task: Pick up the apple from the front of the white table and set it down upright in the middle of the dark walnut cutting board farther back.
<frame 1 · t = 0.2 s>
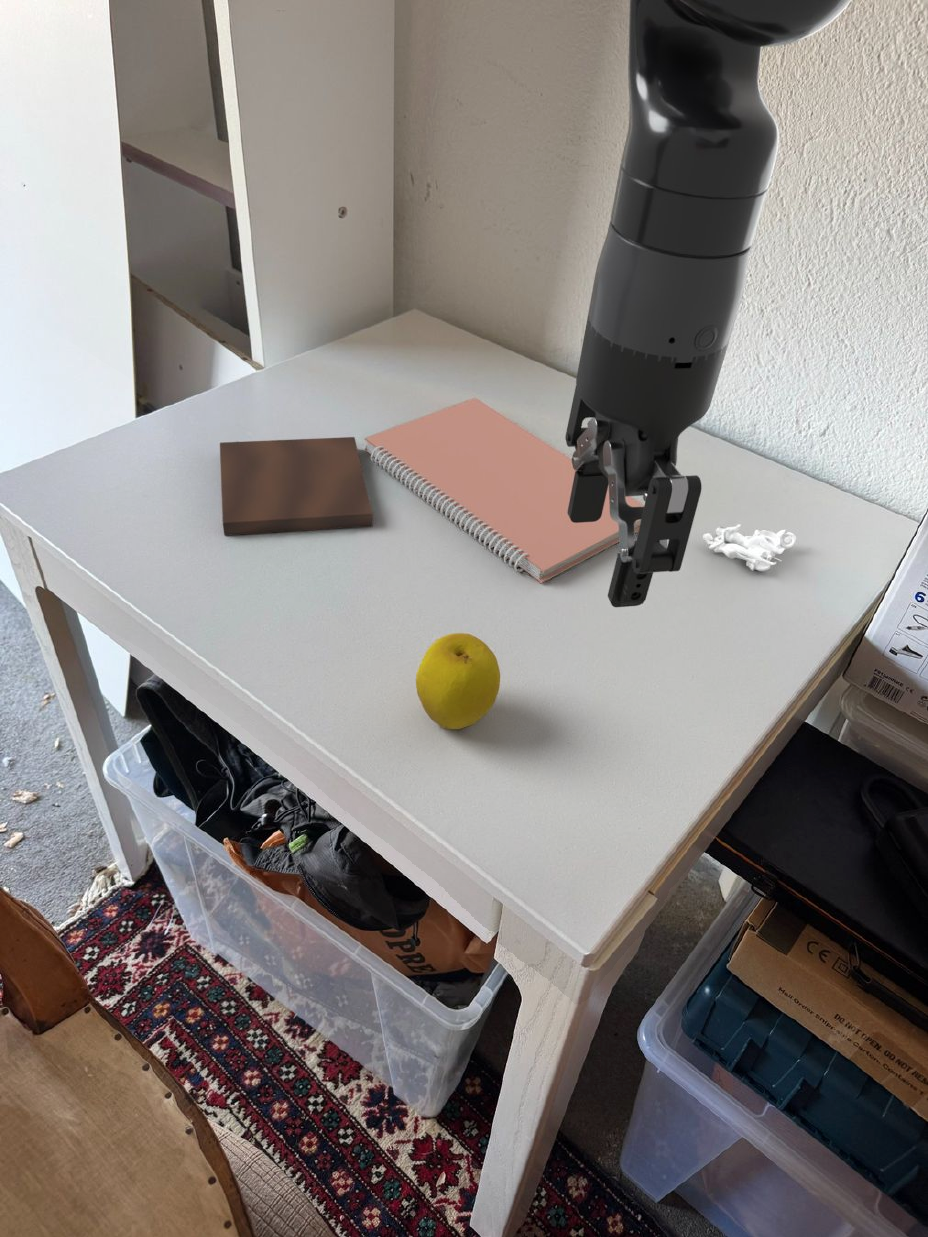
hand: (603, 559, 59), 18 cm above the table, tool pointing down, fingers open, 8 cm apart
figurine: (744, 554, 92), on the table
cutting board: (293, 489, 93), on the table
apple: (454, 717, 73), on the table
notebook: (499, 490, 96), on the table
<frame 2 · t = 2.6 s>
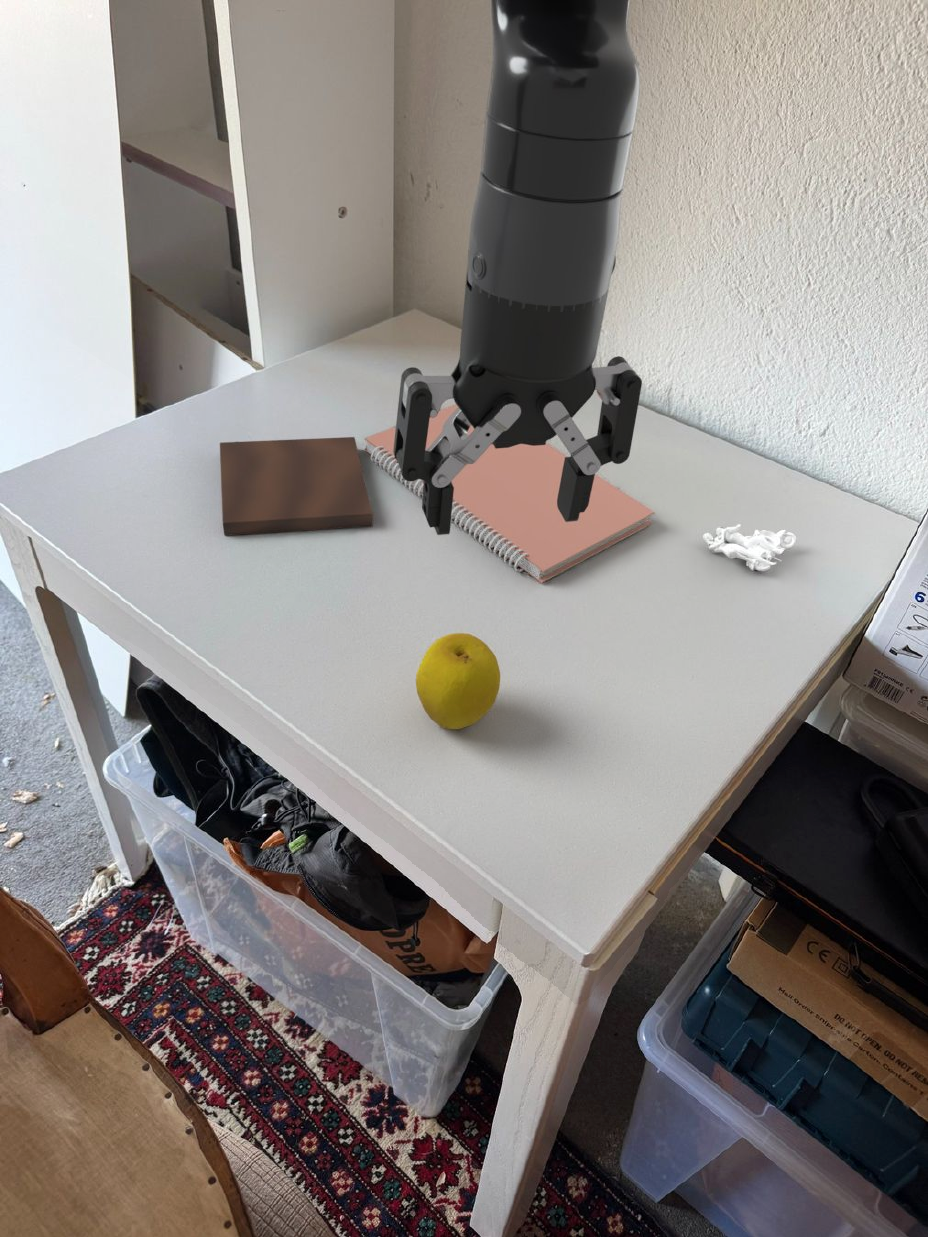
hand: (503, 520, 59), 20 cm above the table, tool pointing down, fingers open, 8 cm apart
nothing on the table moved.
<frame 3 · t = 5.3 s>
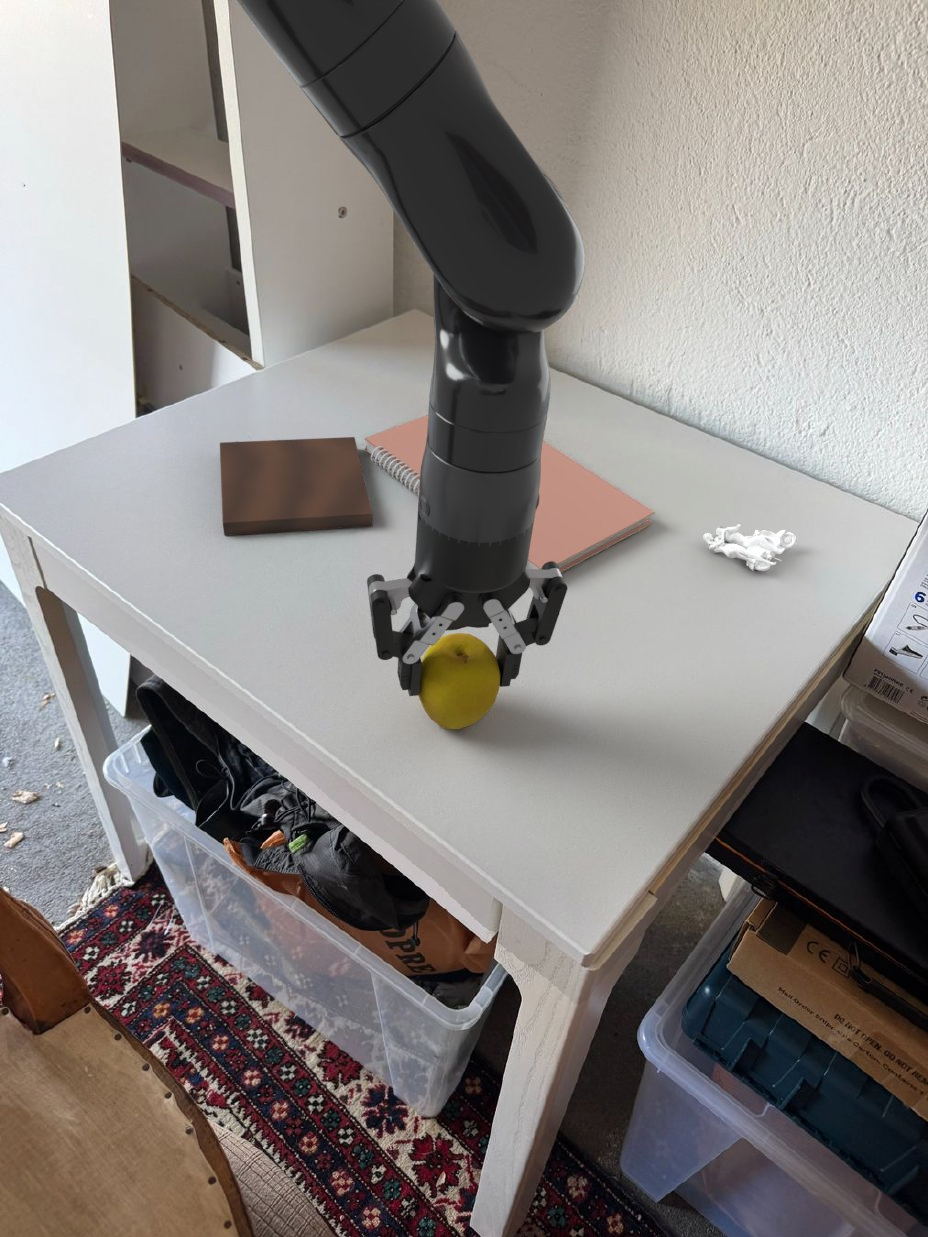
hand: (456, 682, 70), 4 cm above the table, tool pointing down, fingers closed on apple, 6 cm apart
apple: (454, 717, 73), on the table, touching gripper
everything else where it was.
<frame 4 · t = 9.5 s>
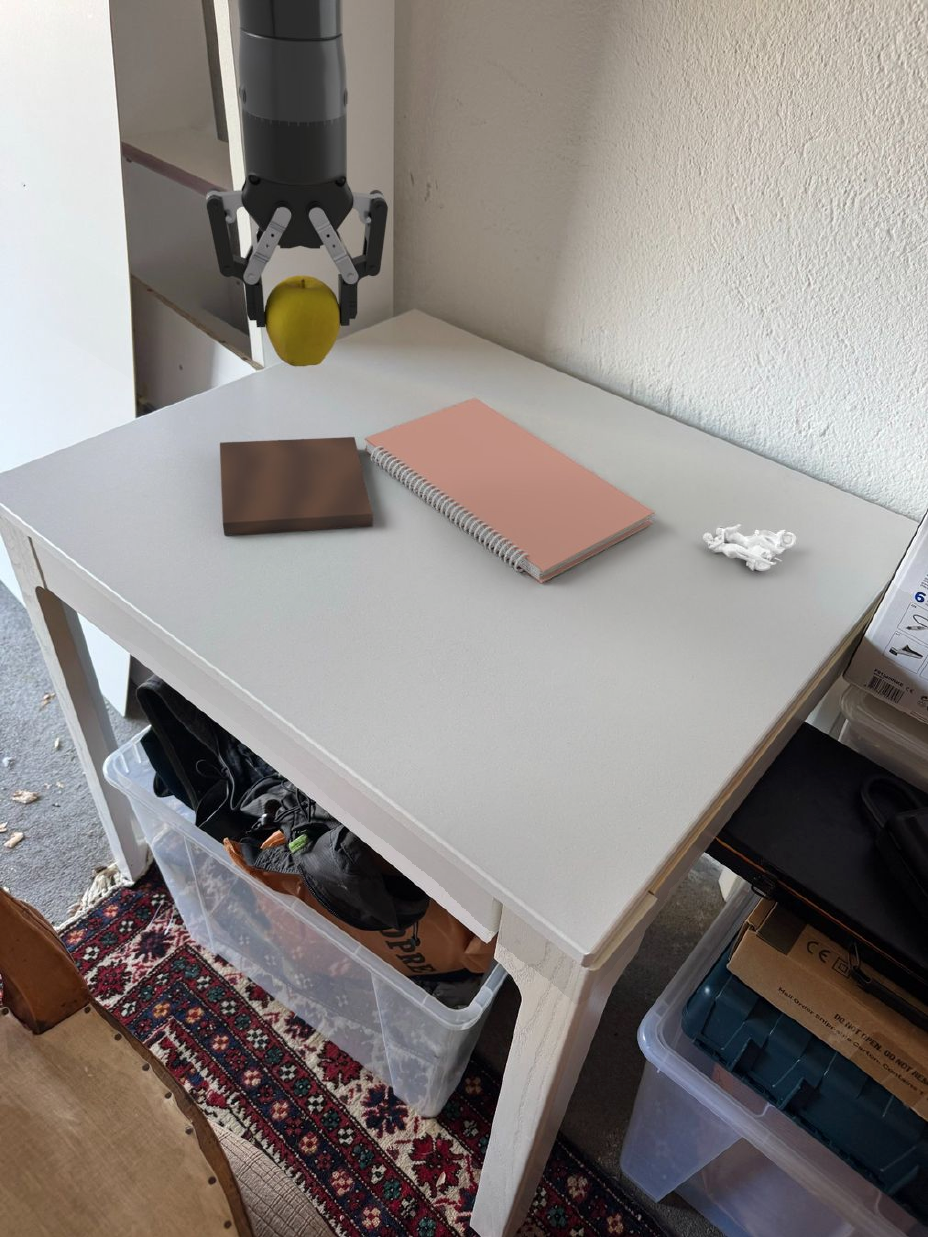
hand: (302, 322, 78), 19 cm above the table, tool pointing down, fingers closed on apple, 6 cm apart
apple: (305, 364, 80), point 16 cm above the table, touching gripper
everything else where it was.
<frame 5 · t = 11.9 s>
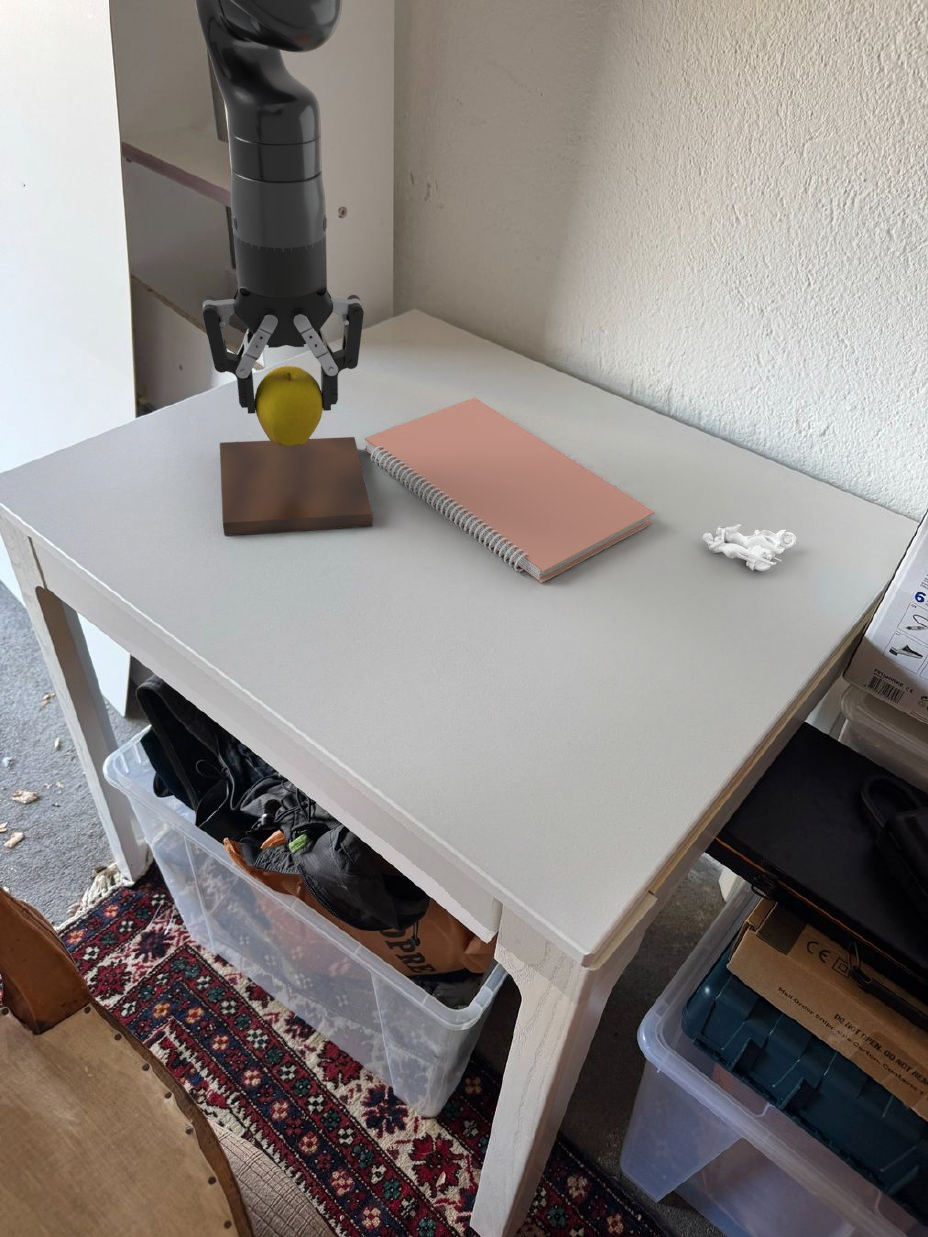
hand: (288, 407, 87), 9 cm above the table, tool pointing down, fingers closed on apple, 6 cm apart
apple: (291, 443, 90), point 5 cm above the table, touching gripper
everything else where it was.
when the fingers open (5 cm above the table, at t = 13.6 s): apple stays where it is, resting on cutting board.
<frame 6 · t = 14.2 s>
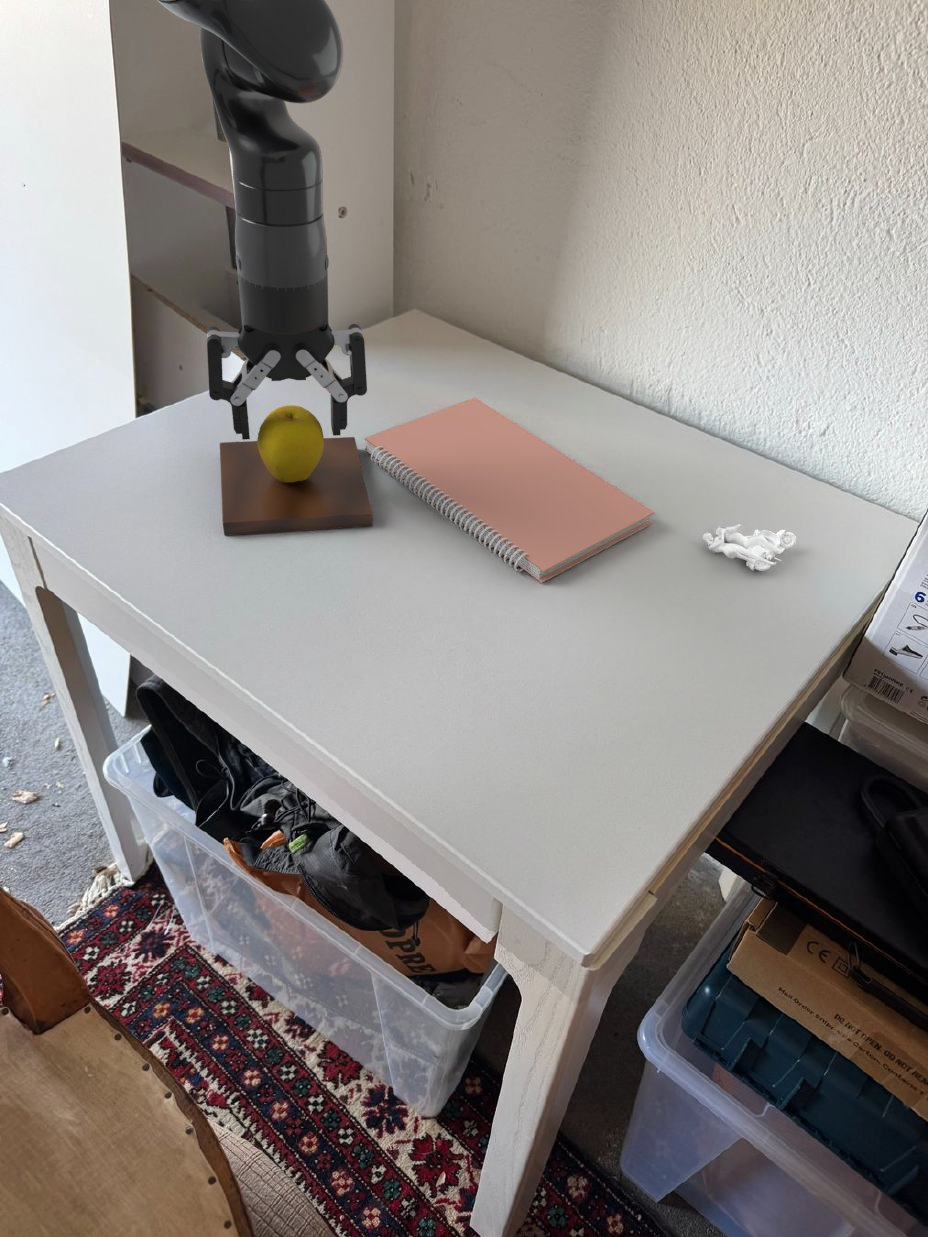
hand: (290, 433, 89), 6 cm above the table, tool pointing down, fingers open, 8 cm apart
apple: (293, 478, 92), point 1 cm above the table, touching cutting board
everything else where it was.
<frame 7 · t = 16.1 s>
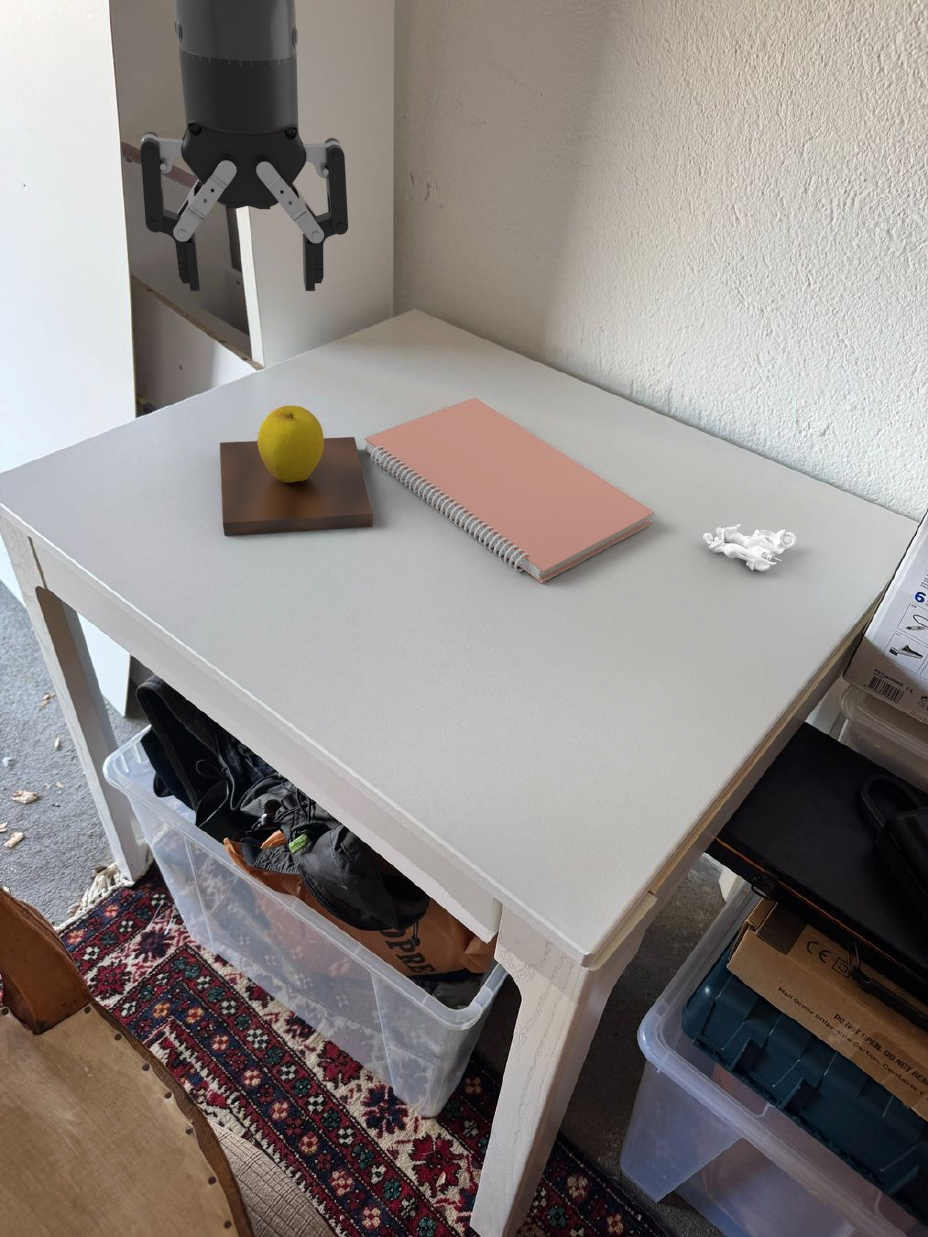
hand: (252, 287, 71), 24 cm above the table, tool pointing down, fingers open, 8 cm apart
nothing on the table moved.
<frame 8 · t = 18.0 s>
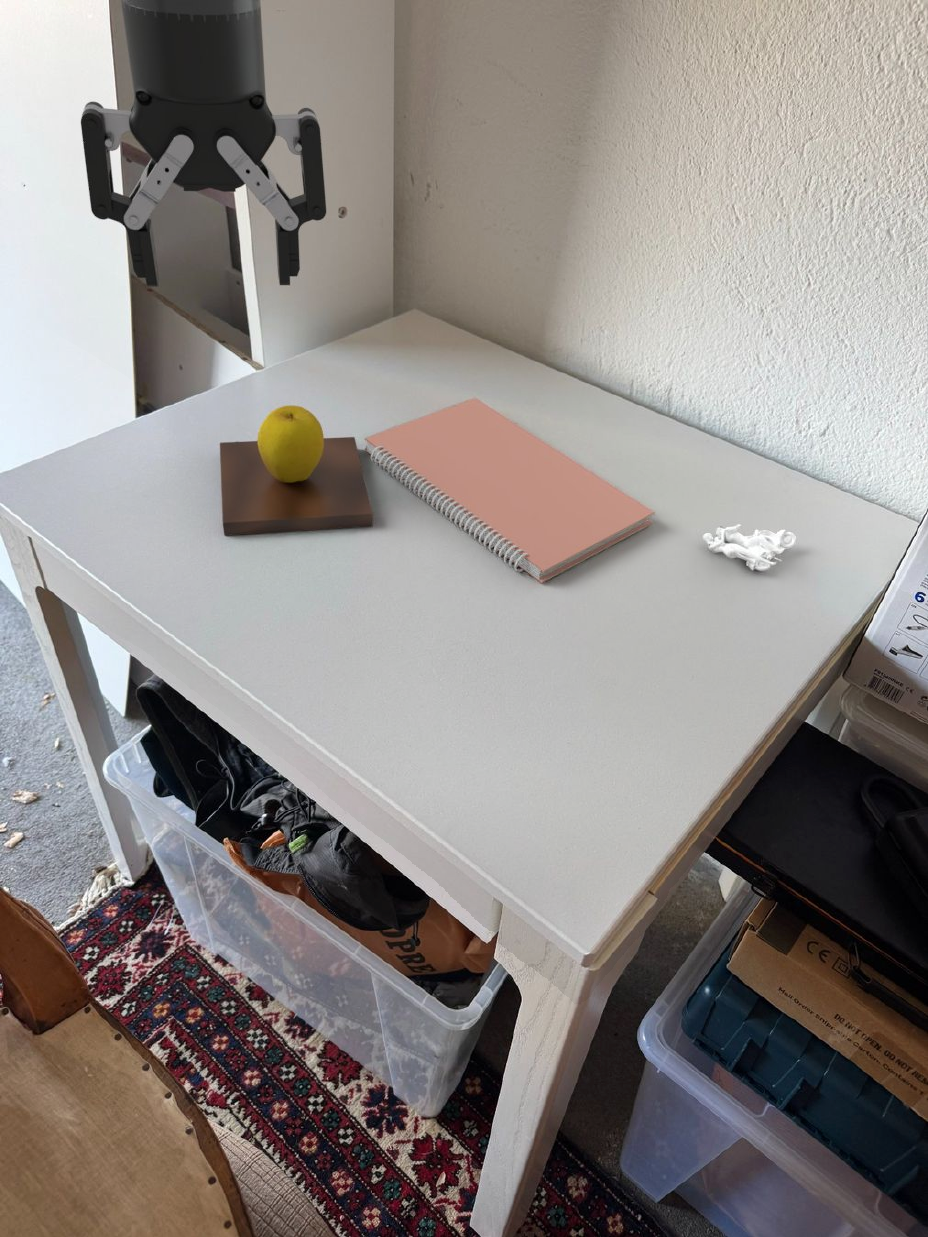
hand: (219, 281, 62), 28 cm above the table, tool pointing down, fingers open, 8 cm apart
nothing on the table moved.
at the end: apple inside the target area on the cutting board (0.1 cm from its centre), point 1.3 cm above the cutting board's base; apple tilted 0°; the gripper is holding nothing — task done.
